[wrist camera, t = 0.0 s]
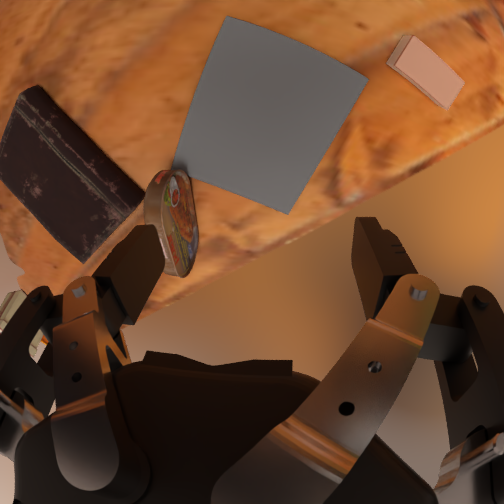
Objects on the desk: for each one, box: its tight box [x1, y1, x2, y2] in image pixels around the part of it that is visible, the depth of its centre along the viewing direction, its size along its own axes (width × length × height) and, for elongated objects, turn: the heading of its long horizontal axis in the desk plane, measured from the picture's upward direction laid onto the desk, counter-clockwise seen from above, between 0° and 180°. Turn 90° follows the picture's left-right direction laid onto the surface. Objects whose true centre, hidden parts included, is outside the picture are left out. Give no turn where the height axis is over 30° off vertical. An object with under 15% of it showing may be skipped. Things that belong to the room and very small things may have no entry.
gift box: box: [0, 290, 43, 357], centre depth 61 cm, size 17×18×17 cm
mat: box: [171, 16, 369, 215], centre depth 28 cm, size 20×16×1 cm
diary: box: [0, 85, 145, 264], centre depth 33 cm, size 19×25×5 cm
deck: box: [386, 35, 465, 110], centre depth 20 cm, size 4×8×3 cm, turn 66°
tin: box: [143, 170, 198, 278], centre depth 34 cm, size 15×3×8 cm, turn 0°
